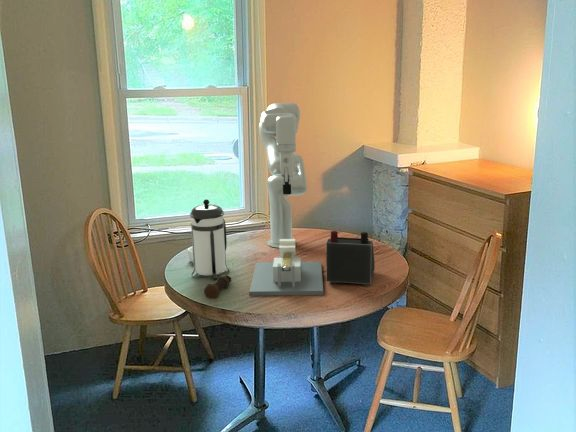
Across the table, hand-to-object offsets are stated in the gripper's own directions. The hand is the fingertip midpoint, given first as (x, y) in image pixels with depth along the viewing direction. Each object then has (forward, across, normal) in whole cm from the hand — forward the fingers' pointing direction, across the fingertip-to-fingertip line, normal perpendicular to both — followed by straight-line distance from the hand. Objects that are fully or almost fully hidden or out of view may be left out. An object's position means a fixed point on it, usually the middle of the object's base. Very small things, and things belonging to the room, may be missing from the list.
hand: (287, 193), depth 233 cm
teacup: (+29, +3, +38) cm, 48 cm away
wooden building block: (+25, -26, 0) cm, 36 cm away
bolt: (+28, -31, +24) cm, 48 cm away
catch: (+27, -14, 0) cm, 30 cm away
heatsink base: (+28, -20, 0) cm, 35 cm away
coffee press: (+29, -13, +30) cm, 43 cm away
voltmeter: (+28, -20, -24) cm, 42 cm away
